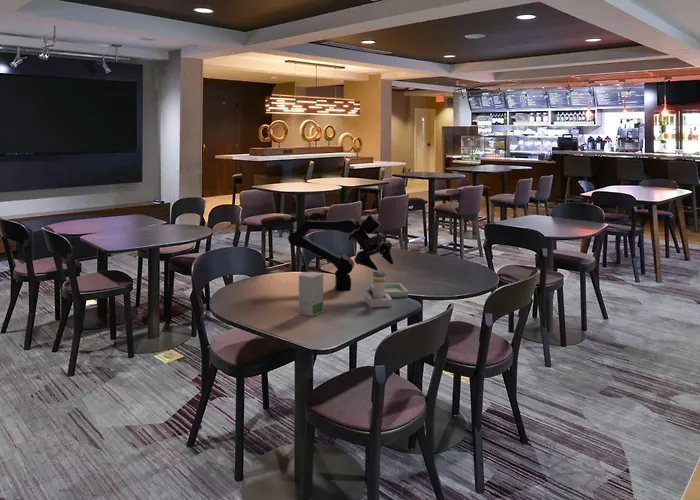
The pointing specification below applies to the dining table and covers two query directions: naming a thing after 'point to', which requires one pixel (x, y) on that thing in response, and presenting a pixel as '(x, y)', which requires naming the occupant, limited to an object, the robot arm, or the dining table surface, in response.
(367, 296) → the tray
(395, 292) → the tray
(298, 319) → the dining table surface
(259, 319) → the dining table surface
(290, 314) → the dining table surface
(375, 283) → the white cylinder
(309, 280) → the skincare box
